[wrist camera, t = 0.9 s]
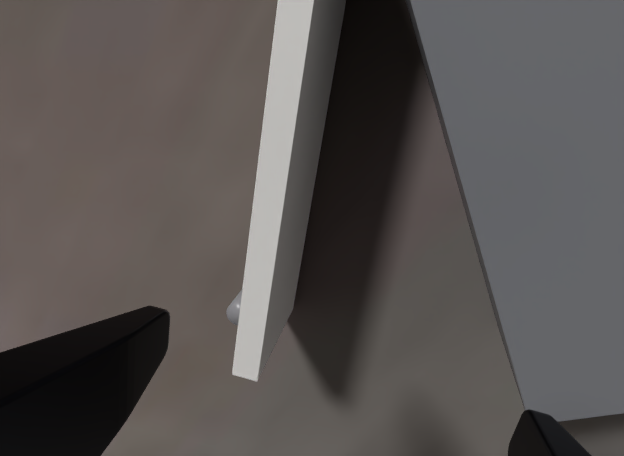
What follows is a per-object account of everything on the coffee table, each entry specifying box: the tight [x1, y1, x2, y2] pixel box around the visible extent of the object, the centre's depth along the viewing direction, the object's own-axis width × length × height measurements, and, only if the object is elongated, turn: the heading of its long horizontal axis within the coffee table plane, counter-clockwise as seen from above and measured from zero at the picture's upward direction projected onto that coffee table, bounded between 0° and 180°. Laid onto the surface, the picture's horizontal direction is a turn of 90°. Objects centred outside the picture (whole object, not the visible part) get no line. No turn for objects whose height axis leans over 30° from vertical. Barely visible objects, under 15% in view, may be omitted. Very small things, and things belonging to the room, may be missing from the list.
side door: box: [227, 0, 346, 381], centre depth 17 cm, size 17×2×6 cm, turn 170°
